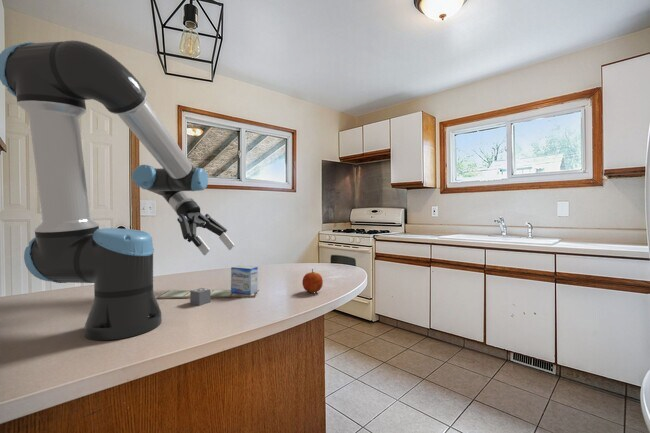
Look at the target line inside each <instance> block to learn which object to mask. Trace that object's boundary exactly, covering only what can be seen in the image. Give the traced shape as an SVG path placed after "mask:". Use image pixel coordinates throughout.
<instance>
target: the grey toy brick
mask: <svg viewBox="0 0 650 433" xmlns="http://www.w3.org/2000/svg"><path fill="white" fill-rule="evenodd" d="M191 290H192V289H191ZM211 290H212V289H209V288H205V287H204V288H203V287H200V288H196V289H193V290H192V291H190V298H189V300H190V302H189V304H190V305H193V306H198V307H201V306H204V305H207V304H210V303H211V299H212V298H211Z"/></svg>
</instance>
